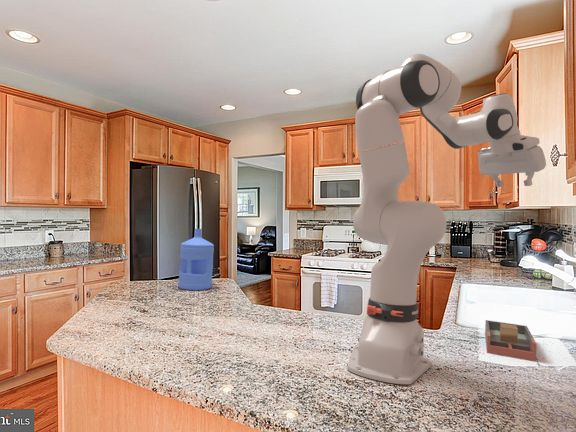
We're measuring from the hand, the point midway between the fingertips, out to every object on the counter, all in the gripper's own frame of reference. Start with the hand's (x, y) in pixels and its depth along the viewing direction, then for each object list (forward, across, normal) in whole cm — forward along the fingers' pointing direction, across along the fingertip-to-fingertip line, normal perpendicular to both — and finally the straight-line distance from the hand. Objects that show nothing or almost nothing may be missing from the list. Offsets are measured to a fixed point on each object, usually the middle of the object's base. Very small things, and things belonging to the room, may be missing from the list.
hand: (513, 185), depth 118 cm
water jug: (+15, -96, -97) cm, 137 cm away
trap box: (+38, +11, -31) cm, 51 cm away
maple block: (+36, +11, -31) cm, 49 cm away
